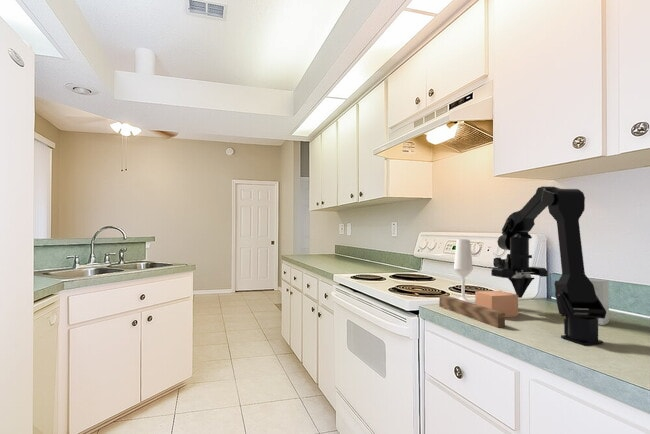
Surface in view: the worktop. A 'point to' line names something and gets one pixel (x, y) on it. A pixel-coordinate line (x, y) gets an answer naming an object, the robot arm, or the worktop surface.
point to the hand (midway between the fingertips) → (519, 297)
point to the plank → (473, 311)
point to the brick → (498, 301)
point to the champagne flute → (463, 262)
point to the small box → (602, 297)
